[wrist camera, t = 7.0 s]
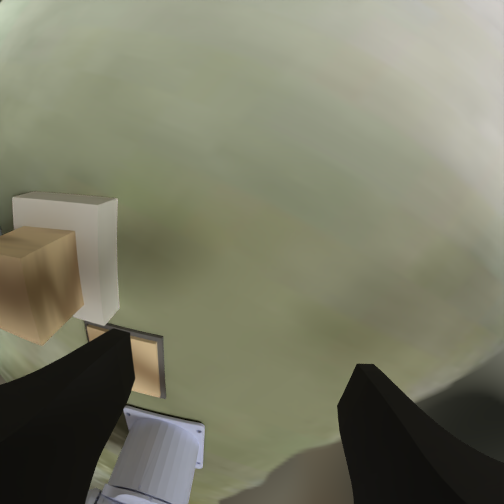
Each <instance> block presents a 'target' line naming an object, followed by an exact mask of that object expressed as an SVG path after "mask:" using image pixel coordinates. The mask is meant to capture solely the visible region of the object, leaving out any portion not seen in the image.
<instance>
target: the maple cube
mask: <svg viewBox="0 0 504 504" xmlns="http://www.w3.org/2000/svg"><path fill="white" fill-rule="evenodd" d="M83 305H84V301H83V295H82V289H81V282H80V275H79V267H78V258H77V248H76V236H75V231H70V230H60V229H50V228H39V227H28V226H23V227H21V228H18V229H16V230H13V231H11V232H8V233H6V234H4V235H1V236H0V328H1V329H3V330H5V331H7V332H10V333H12V334H14V335H16V336H19V337H21V338H23V339H26V340H28V341H31V342H33V343H36V344H38V345H41V346H43V345H44V344H45V343H46V342H47V341H48V340H49V339H50V338H51V337H52V336H53V335H54V334H55V333H56V332H57V331H58V330H59V329H60V328H61V327H62V326H63V325H64V324H65V323H66V322H67V321H68V320H69V319H70V318H71V317H72V316H73V315H74V314H75V313H76V312H77V311H78V310H79V309H80V308H81V307H82V306H83Z"/></svg>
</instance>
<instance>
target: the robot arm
mask: <svg viewBox="0 0 504 504" xmlns="http://www.w3.org/2000/svg"><path fill="white" fill-rule="evenodd" d="M134 381H135V371H134V364H133V356H132V348H131V338H130V332H126V331H122V330H119V329H115V328H113V329H111V330H109V331H107V332H105V333H103V334H102V335H100V336H98V337H97V338H95V339H93V340H92V341H90V342H88V343H87V344H85V345H83V346H81V347H80V348H78V349H76V350H75V351H73V352H71V353H69V354H68V355H66V356H64V357H62V358H61V359H59V360H57V361H55V362H53V363H51V364H49V365H47V366H45V367H43V368H41V369H39V370H37V371H35V372H33V373H31V374H28V375H26V376H24V377H21V378H19V379H16V380H13V381H11V382H8V383H5V384H2V385H0V504H188V501H189V496H190V491H191V486H192V481H193V476H194V471H195V468H199V469H200V468H202V467H203V452H204V433H205V426H204V425H203V424H202V423H198V422H193V421H188V420H183V419H178V418H173V417H169V416H165V415H161V414H157V413H153V412H149V411H145V410H141V409H138V408H134V407H131V406H127V405H126V403H127V401H128V398H129V395H130V393H131V390H132V387H133V384H134ZM125 405H126V406H125ZM337 409H338V421H339V430H340V435H341V440H342V444H343V448H344V453H345V457H346V461H347V465H348V470H349V474H350V479H351V483H352V489H353V496H354V504H504V463H503V462H500V461H497V460H495V459H493V458H490V457H489V456H486V455H484V454H483V453H481V452H479V451H477V450H475V449H474V448H472V447H470V446H469V445H467V444H465V443H464V442H462V441H461V440H459V439H458V438H456V437H455V436H453V435H452V434H450V433H449V432H448V431H446V430H445V429H444V428H442V427H441V426H440V425H438V423H436V422H435V421H434V420H433V419H431V418H430V417H429V416H428V415H427V414H426V413H425V412H423V411H422V410H421V409H420V408H419V407H418V406H417V405H416V404H415V403H414V402H413V401H412V400H411V399H410V398H408V397H407V396H406V395H405V394H404V393H403V392H402V391H401V390H400V389H399V388H398V387H397V386H396V385H395V384H394V383H393V382H392V381H391V380H390V379H389V378H388V377H387V376H386V375H385V374H384V373H383V372H382V371H381V370H380V369H378V368H377V367H376V366H375V365H374V364H357V365H356V367H355V369H354V371H353V374H352V376H351V378H350V380H349V382H348V384H347V387H346V389H345V391H344V393H343V395H342V397H341V399H340V401H339V403H338V405H337ZM122 411H124V415H125V418H126V422H127V426H128V429H129V433H128V435H127V438H126V440H125V443H124V445H123V447H122V450H121V452H120V455H119V457H118V459H117V462H116V464H115V467H114V469H113V472H112V474H111V477H110V479H109V482H108V484H105V485H104V488H103V490H100V489H98V488H94V489H90V490H89V487H90V483H91V480H92V477H93V474H94V471H95V468H96V465H97V462H98V460H99V457H100V455H101V453H102V450H103V448H104V446H105V444H106V442H107V441H108V439H109V437H110V435H111V433H112V431H113V429H114V427H115V425H116V423H117V421H118V419H119V417H120V415H121V413H122ZM101 491H102V493H101Z"/></svg>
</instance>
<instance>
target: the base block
mask: <svg viewBox="0 0 504 504" xmlns="http://www.w3.org/2000/svg"><path fill="white" fill-rule="evenodd" d="M12 203H13V223H14V230H16V229H18V228H21V227H23V226H28V227H39V228H50V229H60V230H70V231H75V236H76V248H77V258H78V267H79V275H80V282H81V289H82V295H83V301H84V305H83V306H82V307H81V308H80V309H79V310H78V311H77V312H76V313H75V314H74V315H73V316H72V317H75V318H79V319H82V320H85V321H89V322H92V323H95V324H99V325H102V326H105V325H106V324H107V322H108V321H109V320H110V319H111V318H112V316H113V315H114V314H115V313H116V312H117V311H118V309H119V308H120V306H119V291H118V270H117V210H118V198H110V197H100V196H89V195H78V194H66V193H53V192H39V191H33V192H29V193H26V194H22V195H18V196H14V197H12Z"/></svg>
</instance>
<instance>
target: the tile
mask: <svg viewBox="0 0 504 504" xmlns="http://www.w3.org/2000/svg"><path fill="white" fill-rule="evenodd" d="M84 321H85V320H84ZM85 327H86V332H87V338H88V342H90V341H92V340H93V339H95V338H97V337H98V336H100V335H102V334H103V333H105V332H107V331H109V330H111V329H113V328H115V329H119V330H122V331H126V332H130V338H131V348H132V356H133V364H134V371H135V381H134V384H133V387H132V391H136V392H139V393H143V394H147V395H151V396H155V397H159V398H164V399H165V398H166V388H165V371H164V348H163V336H159V335H155V334H150V333H146V332H142V331H137V330H133V329H129V328H125V327H121V326H117V325H113V324H109V323H107V324H106V325H105V326H102V325H99V324H95V323H92V322H89V321H85Z"/></svg>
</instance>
